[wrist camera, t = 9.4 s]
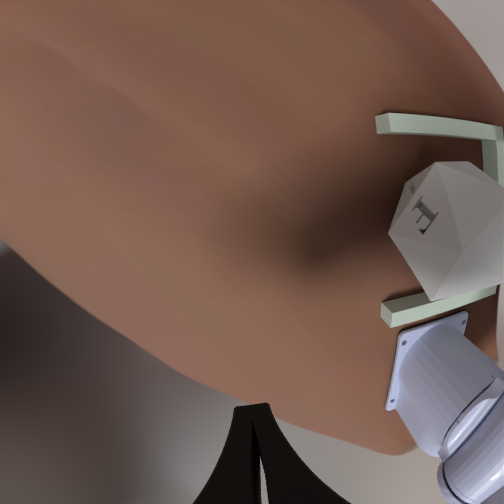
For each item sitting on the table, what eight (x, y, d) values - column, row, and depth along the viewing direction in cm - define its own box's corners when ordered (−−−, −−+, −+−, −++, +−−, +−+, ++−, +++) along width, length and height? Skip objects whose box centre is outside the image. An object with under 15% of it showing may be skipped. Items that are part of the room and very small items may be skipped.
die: (433, 136, 18) (439, 126, 10) (514, 207, 16) (560, 243, 8) (380, 219, 22) (351, 259, 15) (456, 283, 20) (462, 353, 13)
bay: (483, 286, 21) (495, 293, 20) (380, 316, 21) (390, 327, 19) (487, 127, 17) (502, 127, 15) (374, 116, 17) (388, 112, 15)
